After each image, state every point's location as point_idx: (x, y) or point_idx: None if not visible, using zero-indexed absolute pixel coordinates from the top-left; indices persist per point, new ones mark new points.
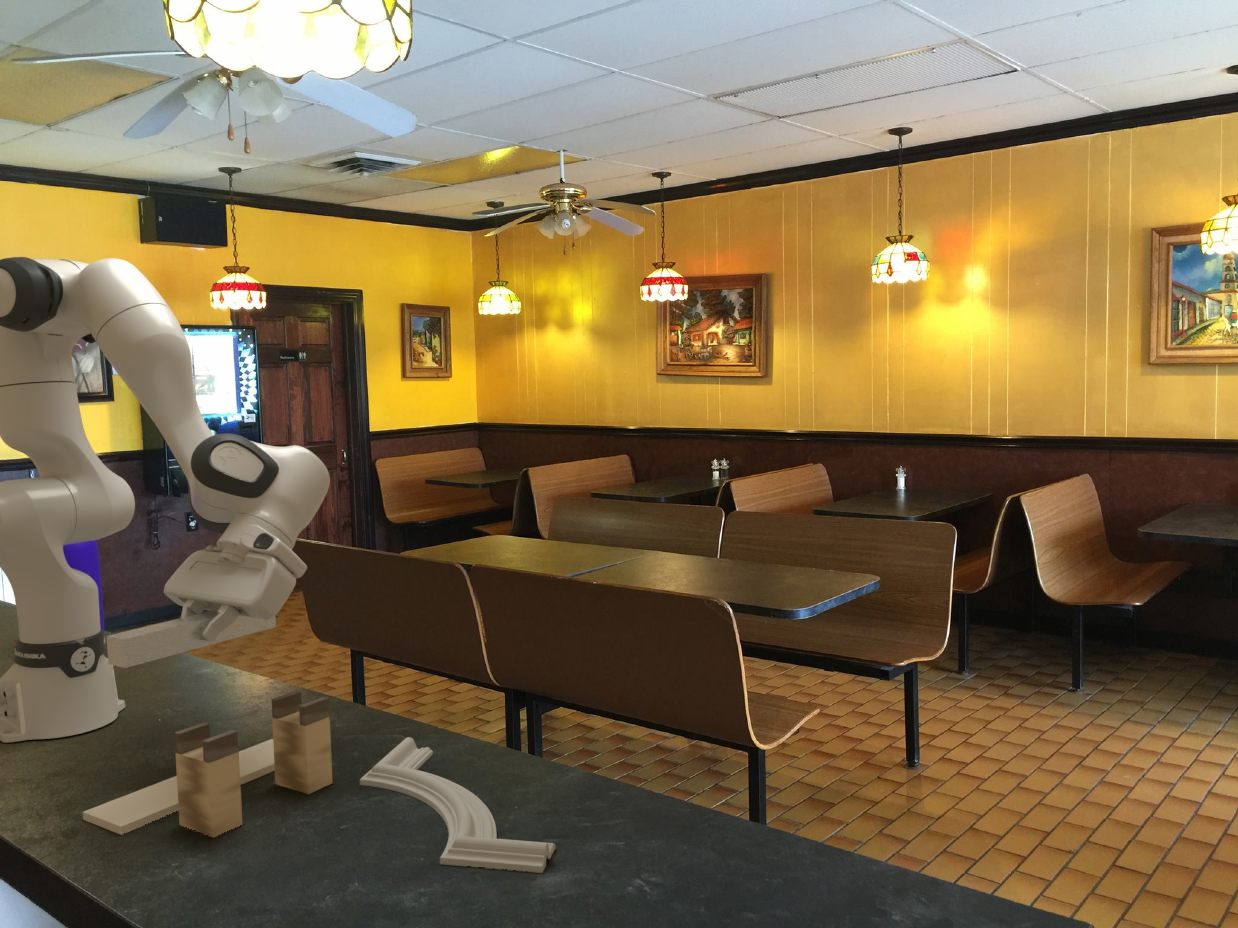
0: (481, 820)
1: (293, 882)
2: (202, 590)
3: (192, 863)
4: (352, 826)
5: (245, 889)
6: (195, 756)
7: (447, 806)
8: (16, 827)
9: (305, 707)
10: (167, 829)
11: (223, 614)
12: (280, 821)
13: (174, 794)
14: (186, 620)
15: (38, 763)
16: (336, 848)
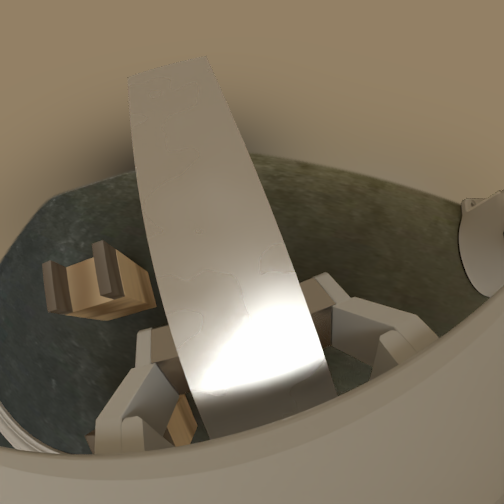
0: (10, 438)
1: (11, 301)
2: (379, 428)
3: (73, 255)
4: (50, 386)
5: (22, 271)
6: (86, 265)
7: (30, 443)
8: (260, 157)
9: (85, 437)
10: (148, 260)
11: (100, 417)
12: (91, 350)
13: None
14: (223, 283)
15: (411, 207)
16: (28, 353)
